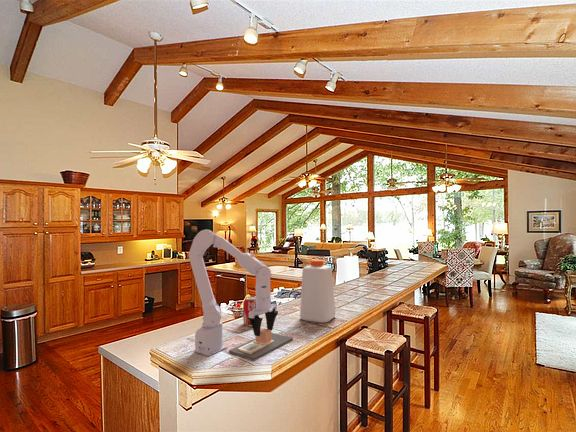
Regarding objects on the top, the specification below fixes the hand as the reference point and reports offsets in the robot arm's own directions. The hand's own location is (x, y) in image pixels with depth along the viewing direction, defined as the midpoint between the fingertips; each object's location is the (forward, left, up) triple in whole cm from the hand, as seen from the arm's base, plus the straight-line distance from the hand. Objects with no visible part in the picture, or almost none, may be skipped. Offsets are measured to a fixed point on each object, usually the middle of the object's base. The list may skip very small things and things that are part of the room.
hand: (263, 332), depth 121 cm
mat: (-1, 0, -5) cm, 5 cm away
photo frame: (-7, 0, -5) cm, 8 cm away
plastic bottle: (+41, 0, -5) cm, 41 cm away
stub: (0, 0, -5) cm, 5 cm away
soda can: (+16, +21, -5) cm, 27 cm away
